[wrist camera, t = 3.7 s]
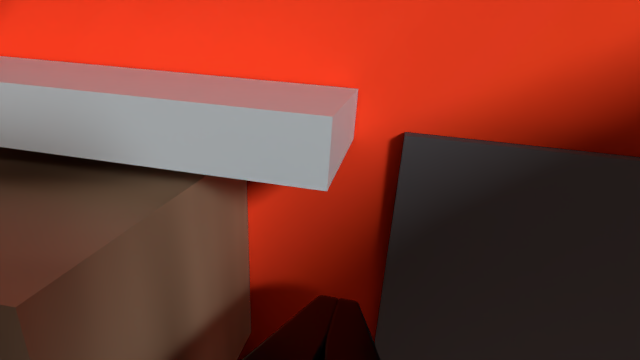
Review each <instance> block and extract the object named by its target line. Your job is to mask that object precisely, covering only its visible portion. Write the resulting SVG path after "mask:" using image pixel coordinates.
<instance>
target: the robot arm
mask: <svg viewBox="0 0 640 360" xmlns="http://www.w3.org/2000/svg"><path fill="white" fill-rule="evenodd" d="M242 360H381V359H380V356H379V354H378V351H377V349H376V346H375V344H374V341H373V339H372V336H371V334H370V331H369V329H368V326H367V324H366V321H365V319H364V316H363V314H362V311H361V309H360V306H359V304H358V302H356V301H353V300H347V299H341V298H340V299H338V298H335V297H330V296H324V295H320V296H318V297H317V298H315V299H314V300H313V301H312V302H311V303H309V304H308V305H307V306H306V307H305V308H303V309H302V310H301V311H300V312H299V313H297V314H296V315H295V316H294V317H293V318H291V319H290V320H289V321H288V322H287V323H285V324H284V325H283V326H282V327H281V328H279V329H278V330H277V331H276V332H275V333H273V334H272V335H271V336H270V337H269V338H267V339H266V340H265V341H264V342H263V343H261V344H260V345H259V346H258V347H257V348H256V349H254V350H253V351H252V352H251V353H250V354H248V355H247V356H246V357H245V358H244V359H242Z"/></svg>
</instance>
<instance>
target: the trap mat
mask: <svg viewBox="0 0 640 360" xmlns="http://www.w3.org/2000/svg"><path fill="white" fill-rule="evenodd" d="M374 344H375V346H376V349H377V351H378V354H379V356H380V359H381V360H640V157H633V156H624V155H614V154H605V153H596V152H586V151H577V150H568V149H558V148H549V147H540V146H530V145H521V144H512V143H502V142H493V141H484V140H475V139H465V138H456V137H447V136H437V135H428V134H419V133H409V132H405V135H404V142H403V149H402V155H401V162H400V169H399V176H398V183H397V190H396V197H395V204H394V211H393V218H392V225H391V232H390V239H389V246H388V252H387V259H386V266H385V273H384V280H383V287H382V294H381V301H380V308H379V315H378V322H377V329H376V336H375V343H374Z"/></svg>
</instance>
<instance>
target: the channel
mask: <svg viewBox="0 0 640 360" xmlns="http://www.w3.org/2000/svg"><path fill="white" fill-rule="evenodd" d="M357 97H358V89H355V88H344V87H333V86H322V85H311V84H300V83H289V82H278V81H267V80H256V79H245V78H234V77H223V76H212V75H202V74H191V73H180V72H169V71H158V70H147V69H136V68H125V67H114V66H103V65H92V64H81V63H70V62H59V61H48V60H38V59H27V58H16V57H5V56H0V147H5V148H12V149H20V150H27V151H34V152H42V153H49V154H56V155H64V156H71V157H78V158H86V159H93V160H100V161H108V162H115V163H123V164H130V165H137V166H145V167H152V168H159V169H167V170H174V171H181V172H189V173H196V174H203V175H211V176H218V177H226V178H233V179H240V180H248V181H255V182H262V183H270V184H277V185H284V186H292V187H299V188H306V189H314V190H321V191H327V190H328V188H329V186H330V184H331V182H332V180H333V178H334V176H335V174H336V172H337V170H338V168H339V166H340V164H341V162H342V161H343V159H344V157H345V155H346V153H347V151H348V149H349V147H350V145H351V143H352V141H353V138H354V128H355V118H356V108H357Z"/></svg>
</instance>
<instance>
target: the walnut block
mask: <svg viewBox="0 0 640 360" xmlns="http://www.w3.org/2000/svg"><path fill="white" fill-rule="evenodd" d="M250 334H251V307H250V274H249V241H248V208H247V180H240V179H233V178H226V177H218V176H211V175H203V174H196V173H189V172H181V171H174V170H167V169H159V168H152V167H145V166H137V165H130V164H123V163H115V162H108V161H100V160H93V159H86V158H78V157H71V156H64V155H56V154H49V153H42V152H34V151H27V150H20V149H12V148H5V147H0V360H237V359H238V357H239V355H240V353H241V351H242V349H243V347H244V345H245V343H246V341H247V339H248V338H249V336H250Z"/></svg>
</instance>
